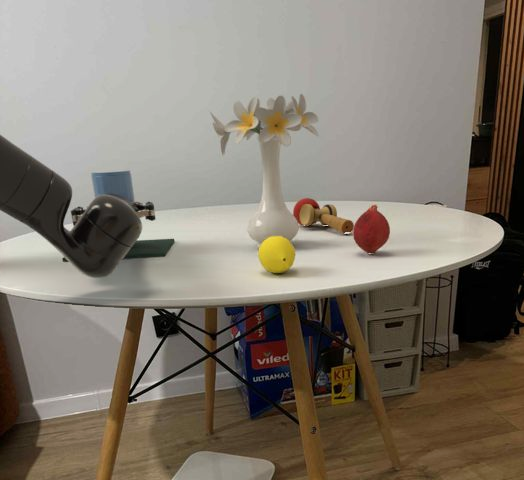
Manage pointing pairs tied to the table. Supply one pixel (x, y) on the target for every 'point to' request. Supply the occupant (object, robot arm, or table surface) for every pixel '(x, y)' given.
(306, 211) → the kendama
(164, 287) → the table surface
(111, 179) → the tumbler
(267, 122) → the flower vase
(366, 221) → the onion
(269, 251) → the lemon
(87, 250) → the robot arm
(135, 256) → the mat
